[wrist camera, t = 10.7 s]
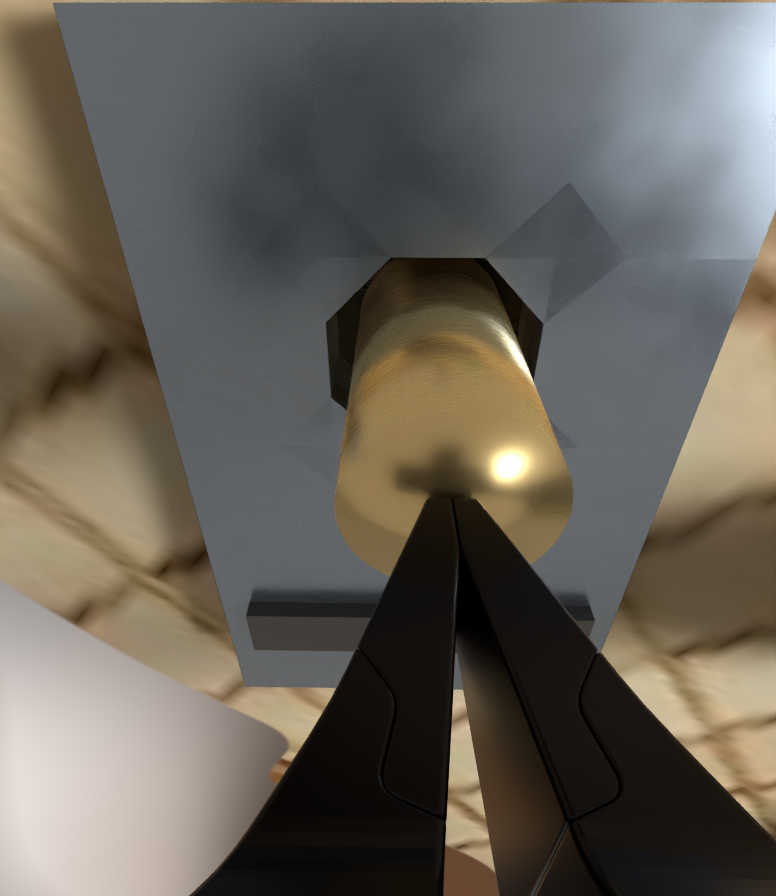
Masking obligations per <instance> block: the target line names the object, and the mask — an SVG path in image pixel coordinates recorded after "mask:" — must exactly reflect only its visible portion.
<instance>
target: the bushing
mask: <svg viewBox="0 0 776 896" xmlns="http://www.w3.org/2000/svg"><path fill="white" fill-rule="evenodd" d="M428 498H449V499H451V501H453V499H455V498H475V499H477V500H478V501H479V502H480V503H481V504H482V505H483V507H484V508H485V509H486V510H487V512H488V513H489V514H490V515H491V517H492V518H493V519H494V520H495V522H496V523H497V524H498V525H499V526H500V528H501V529H502V530H503V531H504V533H505V534H506V535H507V536H508V538H509V539H510V540H511V541H512V543H513V544H514V545H515V546H516V548H517V549H518V550H519V551H520V553H521V554H522V555H523V556H524V558H525V559H526V560H527V561H528V563H529V564H532V563H533V562H535V561H536V560H537V559H538V558H540V557H541V556H542V555H543V554H545V553H546V552H547V551H548V550H549V549H550V548H551V547H552V546H553V545H554V543H555V542H556V541H557V539H558V538H559V537H560V535H561V534H562V532H563V530H564V528H565V527H566V525H567V523H568V520H569V517H570V514H571V511H572V506H573V484H572V479H571V475H570V473H569V470H568V467H567V465H566V462H565V460H564V457H563V455H562V452H561V450H560V447H559V444H558V442H557V439H556V437H555V434H554V432H553V429H552V427H551V424H550V422H549V419H548V417H547V414H546V412H545V409H544V406H543V404H542V401H541V399H540V396H539V394H538V391H537V389H536V386H535V384H534V381H533V379H532V376H531V374H530V371H529V369H528V366H527V363H526V361H525V358H524V356H523V353H522V351H521V348H520V346H519V343H518V341H517V338H516V336H515V333H514V331H513V328H512V325H511V323H510V320H509V318H508V315H507V313H506V310H505V308H504V305H503V303H502V300H501V298H500V295H499V293H498V290H497V287H496V285H495V283H494V281H493V280H492V278H491V276H490V275H489V274H488V272H487V271H486V270H485V269H484V268H483V267H482V266H481V265H480V264H479V263H478V262H476V261H475V260H474V259H472V258H407V257H396V258H395V259H393V260H391V261H390V262H388V263H387V264H386V265H385V266H384V267H383V268H382V269H380V271H379V272H378V273H377V274H376V275H375V276H374V278H373V279H372V281H371V282H370V284H369V286H368V288H367V290H366V292H365V295H364V298H363V302H362V307H361V313H360V321H359V328H358V335H357V342H356V349H355V356H354V363H353V370H352V377H351V385H350V392H349V399H348V406H347V413H346V420H345V427H344V434H343V441H342V449H341V456H340V463H339V470H338V477H337V484H336V491H335V503H334V510H335V516H336V521H337V524H338V527H339V530H340V532H341V534H342V536H343V538H344V540H345V541H346V543H347V544H348V545H349V547H350V548H351V549H352V551H353V552H354V553H355V554H356V555H357V556H358V557H359V558H360V559H362V560H363V561H364V562H365V563H367V564H368V565H369V566H371V567H372V568H374V569H376V570H377V571H379V572H381V573H383V574H385V575H387V576H389V577H390V575H391V573H392V571H393V569H394V567H395V565H396V563H397V561H398V558H399V556H400V554H401V552H402V550H403V548H404V546H405V544H406V541H407V539H408V537H409V535H410V533H411V531H412V529H413V527H414V524H415V522H416V520H417V518H418V516H419V514H420V512H421V510H422V507H423V505H424V503H425V501H426V500H427V499H428Z"/></svg>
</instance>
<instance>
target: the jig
mask: <svg viewBox="0 0 776 896" xmlns="http://www.w3.org/2000/svg"><path fill="white" fill-rule="evenodd" d="M53 5H54V9H55V12H56V16H57V20H58V23H59V27H60V30H61V34H62V37H63V41H64V44H65V48H66V51H67V55H68V59H69V62H70V66H71V69H72V73H73V76H74V80H75V83H76V87H77V91H78V94H79V98H80V101H81V105H82V108H83V112H84V115H85V119H86V122H87V126H88V130H89V133H90V137H91V140H92V144H93V147H94V151H95V154H96V158H97V162H98V165H99V169H100V172H101V176H102V179H103V183H104V186H105V190H106V193H107V197H108V201H109V204H110V208H111V211H112V215H113V218H114V222H115V225H116V229H117V233H118V236H119V240H120V243H121V247H122V250H123V254H124V257H125V261H126V264H127V268H128V272H129V275H130V279H131V282H132V286H133V289H134V293H135V296H136V300H137V303H138V307H139V311H140V314H141V318H142V321H143V325H144V328H145V332H146V335H147V339H148V343H149V346H150V350H151V353H152V357H153V360H154V364H155V367H156V371H157V374H158V378H159V382H160V385H161V389H162V392H163V396H164V399H165V403H166V406H167V410H168V414H169V417H170V421H171V424H172V428H173V431H174V435H175V438H176V442H177V445H178V449H179V453H180V456H181V460H182V463H183V467H184V470H185V474H186V477H187V481H188V485H189V488H190V492H191V495H192V499H193V502H194V506H195V509H196V513H197V516H198V520H199V524H200V527H201V531H202V534H203V538H204V541H205V545H206V548H207V552H208V556H209V559H210V563H211V566H212V570H213V573H214V577H215V580H216V584H217V587H218V591H219V595H220V598H221V602H222V605H223V609H224V612H225V616H226V619H227V623H228V626H229V630H230V634H231V637H232V641H233V644H234V648H235V651H236V655H237V658H238V662H239V666H240V669H241V673H242V676H243V680H244V683H245V686H256V687H324V688H337V686H338V684H339V682H340V680H341V678H342V676H343V674H344V672H345V670H346V668H347V666H348V664H349V662H350V660H351V658H352V655H353V653H354V651H355V650H356V649H357V646H358V643H359V641H360V639H361V637H362V635H363V633H364V631H365V629H366V626H367V624H368V622H369V620H370V618H371V616H372V614H373V612H374V609H375V607H376V605H377V603H378V601H379V599H380V597H381V595H382V592H383V590H384V588H385V586H386V584H387V582H388V580H389V578H390V577H389V576H387V575H385V574H383V573H381V572H379V571H377V570H376V569H374V568H372V567H371V566H369V565H368V564H367V563H365V562H364V561H363V560H362V559H360V558H359V557H358V556H357V555H356V554H355V553H354V552H353V551H352V549H351V548H350V547H349V545H348V544H347V543H346V541H345V540H344V538H343V536H342V534H341V532H340V530H339V527H338V524H337V521H336V516H335V510H334V503H335V491H336V484H337V477H338V470H339V463H340V456H341V449H342V441H343V434H344V427H345V420H346V413H347V406H348V399H349V392H350V385H351V377H352V370H353V365H351V364H350V363H349V362H348V361H347V360H346V359H344V358H343V357H342V356H341V355H340V354H339V342H338V324H337V311H338V310H339V309H340V308H341V307H342V306H343V305H344V304H345V303H346V302H347V301H348V300H349V299H350V298H351V297H352V296H353V295H354V294H355V293H356V292H357V291H358V290H359V289H360V288H361V287H362V286H363V285H364V284H365V283H366V282H367V281H368V280H369V279H370V278H371V277H372V276H373V275H374V274H375V273H376V272H377V271H378V270H379V269H380V268H381V267H382V266H383V265H384V264H385V263H386V262H387V261H388V260H389V259H390V258H391V257H407V258H486V259H487V261H488V262H489V263H490V264H491V265H492V266H493V267H494V268H495V270H496V271H497V272H498V273H499V274H500V275H501V276H502V277H503V279H504V280H505V281H506V282H507V283H508V284H509V285H510V287H511V288H512V289H513V290H514V291H515V292H516V293H517V294H518V296H519V297H520V298H521V299H522V306H521V313H520V320H519V326H518V333H517V341H518V343H519V346H520V348H521V351H522V353H523V356H524V358H525V361H526V363H527V366H528V369H529V371H530V374H531V376H532V379H533V381H534V384H535V386H536V389H537V391H538V394H539V396H540V399H541V401H542V404H543V406H544V409H545V412H546V414H547V417H548V419H549V422H550V424H551V427H552V429H553V432H554V434H555V437H556V439H557V442H558V444H559V447H560V450H561V452H562V455H563V457H564V460H565V462H566V465H567V467H568V470H569V473H570V475H571V479H572V484H573V506H572V511H571V514H570V517H569V520H568V523H567V525H566V527H565V528H564V530H563V532H562V534H561V535H560V537H559V538H558V539H557V541H556V542H555V543H554V545H553V546H552V547H551V548H550V549H549V550H548V551H547V552H546V553H545V554H543V555H542V556H541V557H540V558H538V559H537V560H536V561H535V562H533V563H532V564H530V565H531V566H532V567H533V569H534V570H535V571H536V572H537V574H538V575H539V576H540V577H541V579H542V580H543V581H544V582H545V584H546V585H547V586H548V587H549V589H550V590H551V591H552V592H553V594H554V595H555V596H556V597H557V599H558V600H559V601H560V602H561V604H562V605H563V606H564V607H565V608H566V610H567V611H568V612H569V613H570V615H571V616H572V617H573V618H574V620H575V621H576V622H577V623H578V625H579V626H580V627H581V628H582V630H583V631H584V632H585V633H586V635H587V636H588V637H589V638H590V640H591V641H592V642H593V643H594V644H595V646H596V647H597V649H598V652H597V653H601V651H602V648H603V646H604V643H605V640H606V638H607V635H608V633H609V630H610V628H611V625H612V623H613V620H614V618H615V615H616V613H617V610H618V608H619V605H620V603H621V600H622V597H623V595H624V592H625V590H626V587H627V585H628V582H629V580H630V577H631V575H632V572H633V570H634V567H635V565H636V562H637V560H638V557H639V555H640V552H641V549H642V547H643V544H644V542H645V539H646V537H647V534H648V532H649V529H650V527H651V524H652V522H653V519H654V517H655V514H656V512H657V509H658V506H659V504H660V501H661V499H662V496H663V494H664V491H665V489H666V486H667V484H668V481H669V479H670V476H671V474H672V471H673V469H674V466H675V463H676V461H677V458H678V456H679V453H680V451H681V448H682V446H683V443H684V441H685V438H686V436H687V433H688V431H689V428H690V426H691V423H692V421H693V418H694V415H695V413H696V410H697V408H698V405H699V403H700V400H701V398H702V395H703V393H704V390H705V388H706V385H707V383H708V380H709V378H710V375H711V372H712V370H713V367H714V365H715V362H716V360H717V357H718V355H719V352H720V350H721V347H722V345H723V342H724V340H725V337H726V335H727V332H728V330H729V327H730V324H731V322H732V319H733V317H734V314H735V312H736V309H737V307H738V304H739V302H740V299H741V297H742V294H743V292H744V289H745V287H746V284H747V281H748V279H749V276H750V274H751V271H752V269H753V266H754V264H755V261H756V259H757V256H758V254H759V251H760V249H761V246H762V244H763V241H764V238H765V236H766V233H767V231H768V228H769V226H770V223H771V221H772V218H773V216H774V213H775V211H776V3H53ZM453 689H460V690H463V685H462V679H461V673H460V668H459V662H458V656H457V651H456V648H455V667H454V686H453Z"/></svg>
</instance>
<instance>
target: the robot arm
mask: <svg viewBox="0 0 776 896" xmlns="http://www.w3.org/2000/svg"><path fill="white" fill-rule="evenodd" d="M455 648H456V651H457V656H458V662H459V668H460V673H461V679H462V685H463V690H464V696H465V702H466V707H467V713H468V719H469V724H470V730H471V736H472V742H473V747H474V753H475V759H476V764H477V770H478V776H479V781H480V787H481V793H482V798H483V804H484V810H485V815H486V821H487V827H488V833H489V838H490V844H491V850H492V855H493V861H494V867H495V872H496V878H497V884H498V889H499V895H500V896H776V840H775V839H774V838H773V837H772V836H771V835H770V834H769V833H768V832H767V831H766V830H765V829H764V828H763V827H762V826H761V825H760V824H759V823H758V822H757V821H756V820H755V819H754V818H753V817H752V816H751V815H750V814H749V813H748V812H747V811H746V810H745V809H744V808H743V807H742V806H741V805H740V804H739V803H738V802H737V801H736V800H735V799H734V798H733V797H732V795H731V794H730V793H729V792H728V791H727V790H726V789H725V788H724V787H723V786H722V785H721V784H720V783H719V782H718V781H717V780H716V779H715V778H714V777H713V776H712V775H711V774H710V773H709V772H708V771H707V770H706V769H705V768H704V767H703V766H702V765H701V764H700V763H699V762H698V761H697V760H696V759H695V757H694V756H693V755H692V754H691V753H690V752H689V751H688V750H687V749H686V748H685V747H684V746H683V745H682V744H681V743H680V742H679V741H678V740H677V739H676V738H675V737H674V736H673V735H672V734H671V733H670V732H669V730H668V729H667V728H666V727H665V726H664V725H663V724H662V723H661V722H660V721H659V720H658V719H657V718H656V717H655V715H654V714H653V713H652V712H651V711H650V710H649V709H648V708H647V707H646V706H645V705H644V704H643V702H642V701H641V700H640V699H639V698H638V696H637V695H636V694H635V693H634V692H633V691H632V689H631V688H630V687H629V686H628V685H627V684H626V682H625V681H624V680H623V679H622V678H621V676H620V675H619V674H618V673H617V672H616V670H615V669H614V668H613V667H612V665H611V664H610V663H609V662H608V660H607V659H606V658H605V657H604V655H603V654H602V653H597V652H598V649H597V647H596V646H595V644H594V643H593V642H592V641H591V640H590V638H589V637H588V636H587V635H586V633H585V632H584V631H583V630H582V628H581V627H580V626H579V625H578V623H577V622H576V621H575V620H574V618H573V617H572V616H571V615H570V613H569V612H568V611H567V610H566V608H565V607H564V606H563V605H562V604H561V602H560V601H559V600H558V599H557V597H556V596H555V595H554V594H553V592H552V591H551V590H550V589H549V587H548V586H547V585H546V584H545V582H544V581H543V580H542V579H541V577H540V576H539V575H538V574H537V572H536V571H535V570H534V569H533V567H532V566H531V565H530V564H529V563H528V561H527V560H526V559H525V558H524V556H523V555H522V554H521V553H520V551H519V550H518V549H517V548H516V546H515V545H514V544H513V543H512V541H511V540H510V539H509V538H508V536H507V535H506V534H505V533H504V531H503V530H502V529H501V528H500V526H499V525H498V524H497V523H496V522H495V520H494V519H493V518H492V517H491V515H490V514H489V513H488V512H487V510H486V509H485V508H484V507H483V505H482V504H481V503H480V502H479V501H478V500H477V499H475V498H455V499H453V501H451V499H449V498H428V499H427V500H426V501H425V503H424V505H423V507H422V510H421V512H420V514H419V516H418V518H417V520H416V522H415V524H414V527H413V529H412V531H411V533H410V535H409V537H408V539H407V541H406V544H405V546H404V548H403V550H402V552H401V554H400V556H399V558H398V561H397V563H396V565H395V567H394V569H393V571H392V573H391V575H390V578H389V580H388V582H387V584H386V586H385V588H384V590H383V592H382V595H381V597H380V599H379V601H378V603H377V605H376V607H375V609H374V612H373V614H372V616H371V618H370V620H369V622H368V624H367V626H366V629H365V631H364V633H363V635H362V637H361V639H360V641H359V643H358V646H357V649H356V650H355V651H354V653H353V655H352V658H351V660H350V662H349V664H348V666H347V668H346V670H345V672H344V674H343V676H342V678H341V680H340V682H339V684H338V686H337V688H336V690H335V692H334V694H333V695H332V697H331V699H330V701H329V703H328V705H327V706H326V708H325V710H324V711H323V713H322V715H321V716H320V718H319V720H318V721H317V723H316V725H315V726H314V728H313V730H312V731H311V733H310V735H309V736H308V738H307V739H306V741H305V742H304V744H303V745H302V747H301V748H300V750H299V752H298V753H297V755H296V756H295V758H294V759H293V761H292V762H291V764H290V766H289V767H288V769H287V770H286V772H285V773H284V775H283V776H282V778H281V779H280V781H279V783H278V784H277V786H276V787H275V789H274V790H273V792H272V793H271V795H270V797H269V798H268V800H267V801H266V803H265V804H264V806H263V807H262V809H261V810H260V812H259V814H258V815H257V817H256V818H255V820H254V821H253V823H252V824H251V825H250V827H249V828H248V830H247V831H246V833H245V834H244V835H243V837H242V838H241V840H240V841H239V842H238V844H237V845H236V846H235V848H234V849H233V850H232V851H231V853H230V854H229V855H228V856H227V858H226V859H225V860H224V861H223V862H222V863H221V864H220V866H219V867H218V868H217V869H216V870H215V871H214V872H213V873H212V874H211V875H210V876H209V877H208V878H207V879H206V880H205V881H204V882H203V883H202V884H201V885H200V886H199V887H198V888H197V889H196V890H195V891H194V892H193V893H192V894H190V895H189V896H443V894H444V893H443V891H444V861H445V860H444V859H445V838H446V818H447V799H448V780H449V762H450V743H451V724H452V705H453V686H454V667H455Z"/></svg>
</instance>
